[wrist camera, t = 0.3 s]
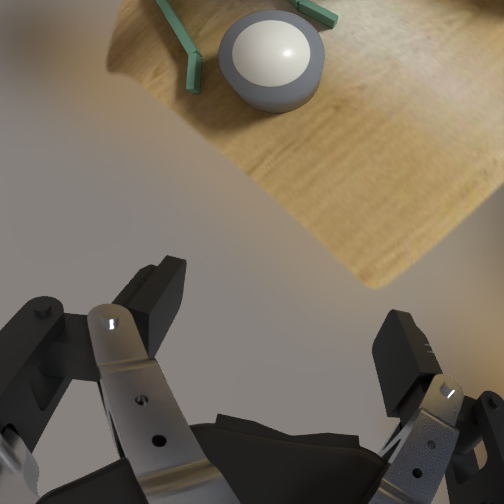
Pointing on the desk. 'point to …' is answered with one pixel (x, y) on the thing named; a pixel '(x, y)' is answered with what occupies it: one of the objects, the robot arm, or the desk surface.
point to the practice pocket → (195, 56)
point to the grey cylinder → (272, 60)
